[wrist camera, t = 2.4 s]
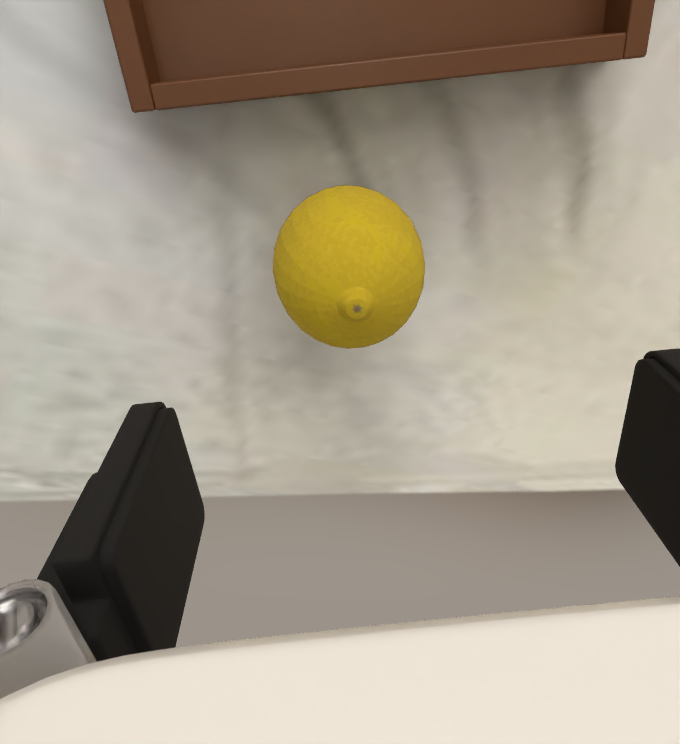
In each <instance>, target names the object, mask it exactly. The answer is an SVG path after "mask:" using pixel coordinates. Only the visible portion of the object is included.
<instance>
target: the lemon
mask: <svg viewBox="0 0 680 744" xmlns="http://www.w3.org/2000/svg"><path fill="white" fill-rule="evenodd" d="M424 271H425V261H424V256H423V250H422V245H421V240H420V238H419V236H418V234H417V232H416V230H415V228H414V225H413V223H412V221H411V220H410V218H409V217H408V216H407V215H406V214H405V213H404V212H403V210H402V209H401V208H400V207H399V206H398V205H397V204H396V203H395V202H393V201H392V200H390V199H389V198H387V197H386V196H384V195H382V194H381V193H379V192H376V191H373V190H370V189H367V188H364V187H361V186H345V185H341V186H337V187H332V188H327V189H324V190H322V191H320V192H318V193H316V194H314V195H312V196H310V197H308V198H306V199H305V200H304V201H303V202H302V203H301V204H300V205H298V206H297V207H296V208H295V209H294V210H293V211H292V212H291V214H290V215H289V217H288V218H287V220H286V221H285V223H284V224H283V226H282V228H281V230H280V233H279V236H278V239H277V242H276V245H275V248H274V260H273V273H274V278H275V283H276V288H277V293H278V295H279V297H280V299H281V301H282V303H283V305H284V307H285V309H286V311H287V313H288V315H289V316H290V317H291V318H292V319H293V320H294V322H295V323H296V324H297V325H298V326H299V327H300V329H301V330H303V331H304V332H305V333H307V334H308V335H310V336H311V337H313V338H314V339H316V340H318V341H320V342H323V343H325V344H328V345H330V346H334V347H341V348H360V347H366V346H369V345H372V344H376V343H379V342H381V341H383V340H384V339H386V338H388V337H390V336H391V335H393V334H394V333H395V332H396V331H397V330H399V329H400V328H401V327H402V326H403V325H404V324H405V323H406V322H407V320H408V319H409V317H410V316H411V314H412V313H413V311H414V309H415V308H416V306H417V303H418V300H419V297H420V295H421V292H422V289H423V283H424Z"/></svg>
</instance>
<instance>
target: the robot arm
mask: <svg viewBox="0 0 680 744" xmlns="http://www.w3.org/2000/svg"><path fill="white" fill-rule="evenodd" d="M615 468H616V474H617V477H618V479H619V481H620V483H621V484H622V486H623V487H624V488H625V490H626V491H627V492H628V494H629V495H630V497H631V498H632V500H633V501H634V502H635V504H636V505H637V507H638V508H639V510H640V511H641V512H642V514H643V515H644V517H645V518H646V519H647V521H648V522H649V524H650V525H651V526H652V528H653V529H654V531H655V532H656V534H657V535H658V537H659V538H660V539H661V540H662V542H663V544H664V545H665V546H666V548H667V549H668V551H669V552H670V553H671V555H672V556H673V558H674V559H675V561H676V562H677V563H678V565H679V566H680V349H668V350H659V351H650V352H648V353H646V355H645V356H644V359H641V360H639V361H638V362H637V363H636V366H635V370H634V375H633V380H632V385H631V390H630V394H629V399H628V404H627V409H626V414H625V419H624V424H623V429H622V434H621V439H620V443H619V448H618V453H617V458H616V464H615ZM203 524H204V506H203V502H202V499H201V495H200V492H199V489H198V485H197V482H196V479H195V475H194V472H193V469H192V465H191V462H190V459H189V455H188V452H187V448H186V445H185V442H184V438H183V435H182V432H181V428H180V425H179V422H178V418H177V415H176V412H175V410H174V409H173V408H166V406H165V405H164V403H162V402H153V403H143V404H135V405H132V406H131V408H130V410H129V411H128V413H127V415H126V417H125V419H124V421H123V423H122V425H121V427H120V429H119V431H118V433H117V435H116V437H115V439H114V441H113V443H112V445H111V447H110V449H109V451H108V453H107V455H106V457H105V459H104V461H103V463H102V465H101V467H100V469H99V470H98V472H97V473H95V474H93V475H92V476H91V477H90V479H89V480H88V482H87V484H86V486H85V488H84V490H83V492H82V493H81V495H80V497H79V499H78V501H77V503H76V505H75V507H74V509H73V511H72V513H71V515H70V516H69V518H68V520H67V522H66V524H65V526H64V528H63V530H62V532H61V534H60V536H59V538H58V540H57V541H56V543H55V545H54V547H53V549H52V551H51V553H50V555H49V557H48V559H47V561H46V563H45V565H44V566H43V569H42V570H41V572H40V574H39V576H38V578H37V579H35V580H22V581H18V582H15V583H11V584H8V585H6V586H4V587H2V588H0V744H680V596H677V597H666V598H655V599H644V600H633V601H622V602H611V603H600V604H589V605H578V606H568V607H558V608H547V609H537V610H528V611H516V612H506V613H495V614H485V615H475V616H466V617H455V618H444V619H436V620H435V619H434V620H424V621H414V622H404V623H394V624H384V625H375V626H366V627H356V628H345V629H336V630H326V631H316V632H307V633H298V634H287V635H277V636H268V637H259V638H250V639H242V640H235V641H234V640H233V641H225V642H217V643H208V644H200V645H192V646H184V647H175V646H176V641H177V637H178V633H179V628H180V624H181V620H182V616H183V611H184V607H185V603H186V598H187V594H188V589H189V585H190V581H191V576H192V572H193V568H194V563H195V559H196V555H197V550H198V546H199V542H200V537H201V533H202V529H203Z"/></svg>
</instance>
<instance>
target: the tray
mask: <svg viewBox="0 0 680 744" xmlns="http://www.w3.org/2000/svg"><path fill="white" fill-rule="evenodd" d="M103 1H104V5H105V9H106V13H107V16H108V20H109V24H110V28H111V32H112V36H113V40H114V43H115V47H116V51H117V55H118V59H119V63H120V67H121V70H122V74H123V78H124V82H125V86H126V90H127V94H128V97H129V101H130V105H131V109H132V111H133V112H135V113H137V112H146V111H154V110H165V109H174V108H183V107H192V106H201V105H210V104H220V103H229V102H238V101H247V100H256V99H265V98H275V97H284V96H293V95H302V94H311V93H320V92H330V91H339V90H348V89H357V88H366V87H375V86H385V85H394V84H403V83H412V82H421V81H430V80H440V79H449V78H458V77H467V76H476V75H485V74H495V73H504V72H513V71H522V70H531V69H540V68H550V67H559V66H568V65H577V64H586V63H595V62H605V61H614V60H621V59H632V58H641V57H644V56H645V55H646V52H647V46H648V40H649V33H650V27H651V21H652V15H653V9H654V3H655V0H103Z"/></svg>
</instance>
